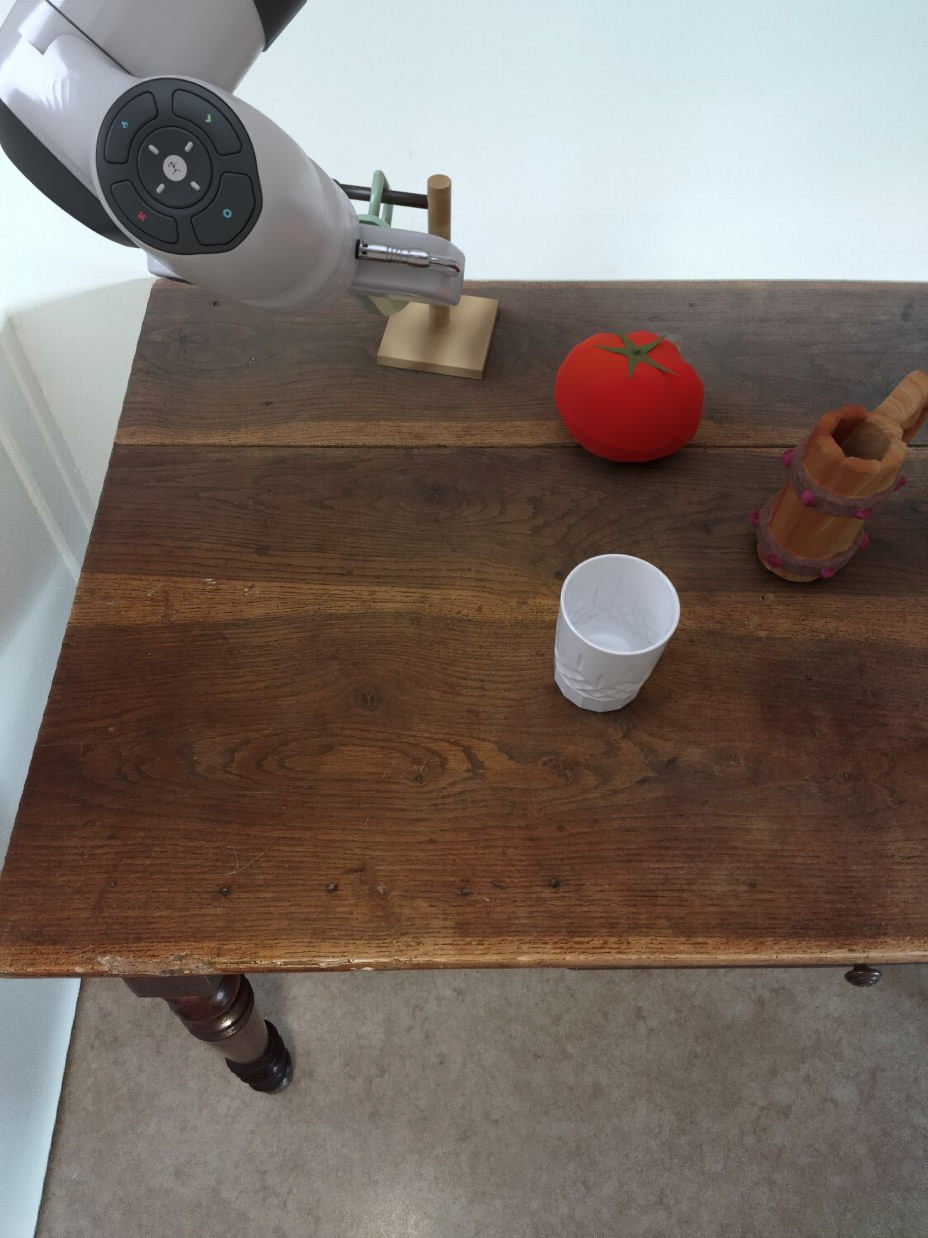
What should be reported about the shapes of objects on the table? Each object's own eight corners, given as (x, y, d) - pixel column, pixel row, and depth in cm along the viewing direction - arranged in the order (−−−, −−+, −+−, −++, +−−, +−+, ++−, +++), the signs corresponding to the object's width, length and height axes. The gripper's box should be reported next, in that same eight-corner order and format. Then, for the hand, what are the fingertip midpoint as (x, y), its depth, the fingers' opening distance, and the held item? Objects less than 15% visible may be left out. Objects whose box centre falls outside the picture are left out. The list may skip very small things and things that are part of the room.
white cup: (544, 626, 69) (559, 551, 60) (645, 629, 69) (674, 555, 60) (546, 718, 65) (562, 652, 56) (653, 722, 65) (685, 656, 56)
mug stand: (498, 309, 88) (509, 153, 74) (481, 380, 83) (489, 226, 69) (351, 288, 89) (334, 131, 75) (325, 357, 84) (302, 201, 70)
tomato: (673, 502, 76) (703, 417, 67) (532, 461, 78) (544, 373, 69) (701, 413, 81) (732, 324, 72) (569, 377, 83) (584, 285, 74)
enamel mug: (411, 320, 80) (394, 296, 71) (347, 311, 81) (322, 286, 72) (427, 205, 79) (412, 165, 70) (362, 196, 79) (338, 156, 71)
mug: (797, 617, 70) (878, 496, 57) (718, 553, 73) (778, 424, 60) (904, 521, 75) (1000, 391, 62) (826, 465, 78) (902, 330, 65)
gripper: (461, 204, 52) (481, 247, 65) (127, 159, 53) (214, 210, 67) (446, 316, 53) (469, 335, 67) (122, 269, 55) (208, 297, 68)
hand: (339, 272), depth 67 cm, fingers open, 8 cm apart
